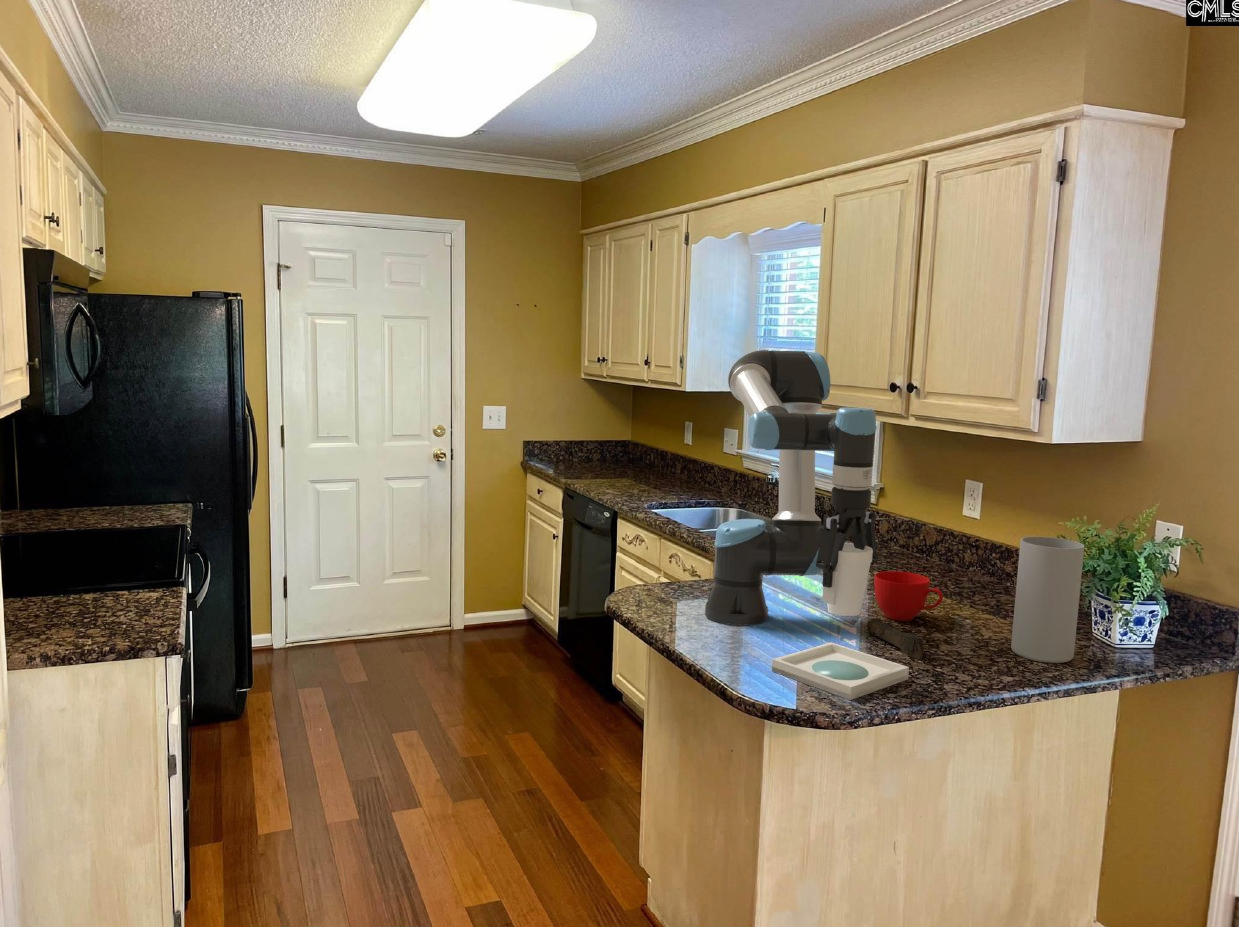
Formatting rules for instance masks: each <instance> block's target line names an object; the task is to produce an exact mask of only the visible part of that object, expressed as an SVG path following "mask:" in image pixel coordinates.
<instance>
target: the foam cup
mask: <svg viewBox="0 0 1239 927" xmlns="http://www.w3.org/2000/svg"><path fill="white" fill-rule="evenodd" d="M872 554H873V549H872V548H871V547H868V546H865V549H864V550H861V549H857V548H855V547H854V544H853V542H846V541H845V544H844V547H843V549H842V551H839V553H838V563H837V566H836V568H835V571H838V578H837V594H836V604H835V605H832V604H829V603H826V605H827V612H828V613H830V614H833V615H836V616H843V617H855V616H859V615H860V614H861V612H862V607H863V602H864V598H865V597H864V593H865V588H866V583H867V584H868V581H867V578H868V579H869V575H870V574H869V573H870V568H871V562H872ZM830 565H831V563H830Z"/></svg>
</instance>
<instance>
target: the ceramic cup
mask: <svg viewBox="0 0 1239 927" xmlns="http://www.w3.org/2000/svg"><path fill="white" fill-rule="evenodd" d="M873 580H874V583H873V584H874V595H875V601H876V604H877V605H878V607H879V608H880V610H881V612H882V613H883V614H884V616H885V617H886V618H887V619H890V620H893V621H901V622H907V621H913V620H914V618H915V617H917V616H918V615H919V613H920V612H921V611H924V610H929V609H930V610H931V609H934V608H936V607H938V606H939V605H941V604H942V601H943V599H944V594H943V592H942V591H941V590H940V589H938V588H934V587H932V588H930V583H931V581H930V580H931V579H929V577H926V576H924V575H922V574H918V573H914V572H913V573H912V572H907V571H899V570H898V571H897V570H889V571H887V570H886V571H879V572H876V573H875V574H874V579H873ZM932 592H934V593H936V594H938V600H937V602H936V603H934V604H931V605H926V603H927V599H928V595H929V594H931V593H932Z"/></svg>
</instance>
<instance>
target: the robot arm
mask: <svg viewBox="0 0 1239 927" xmlns="http://www.w3.org/2000/svg"><path fill="white" fill-rule="evenodd" d="M727 377H728V378H727V380H728V381H727V383H728V387H729V391H730V392H731V394H732V395H733V397H734V398H735V399H736V400H738V401H739V402H741V403H742V406H743V407H744V409H745V411H746V413H747V414H748V416H749V419H748V429H747V433H748V434H747V436H748V442H749V445H750V447H751V448H753V449H757V450H758V449H759V450H764V451H778V452H779V453H778V454H779V455H778V463H779V464H778V512H777V513H776V514H775V515H774V517H772V519H771V522H772V523H771V525H770V526H768V525H767V524H766V521H764V520H763V519H757V518H741V519H740V518H739V519H733V520H728V521H726V522H723V523H721V524H719V526H718V527H717V529H716V531H715V532H716V533H715V541H714V566H713V567H714V569H713V583H712V584H713V585H712V587H711V589H710V592H709V595H708V597H707V601H706V603H705V607H704V615H705V617H706V618H707V619H709V620H711V621H713V622H717V623H720V624H724V625H734V626H753V625H754V626H755V625H759V624H760V625H761V624H763V623H765V622H767V621H768V620H769V607H768V605H767V602H766V598H765V592H764V589H763V588H764V587H763V579H764V578H763V577H764V576H766V575H767V576H799V577H804V576H817V575H818V574H820V573H821V572H822V584H821V585H822V596H821V597H822V598H821V599H822V601H821V602H822V603H825V604H827V603H829V604H832V605H835V604H836V594H837V578H838V571H835V568H836V566H837V563H838V553H839V551H842V549H843V547H844V544H845V542H846V541H848V540H849V539H850V536H851V540H852V543H853V544H854V547H855V548H857V549H861V550H864V549H865V546H868V547H871V548H872V549H873V554H872V562H871V564H870V566H873V565H875V562H876V560H877V557H878V552H877V542H876V540H877V538H876V529H875V521H876V512H875V513H874V512H870V511H867V509H869V508H871V504H872V503H871V502H872V490H871V489H870V487H872V485H873V483H872V482H873V468H874V467H873V466H874V457H875V445H876V444H875V443H876V442H875V441H876V431H877V414H876V411H875V410H873V409H872V408H866V407H852V406H851V407H849V406H848V407H845V406H844V407H840V408H838V410H836V412H830V413H817V412H819V411H820V409H821V408H822V407H823V401H824V402H825V401H826V400H828V398H829V396H830V392H831V391H830V389H831V373H830V368H829V365H828V361H827V360H826V358H825V357H824V356H823V355H822V354H821V353H819V352H813V351H806V350H769V349H762V350H755V351H751V352H748V353H747V354H744V355H743V356H741V357H740V358H739V359H738V360H737V361H736V362H734V364H733V365H732V366H731V368H730V371H729V373H728V376H727ZM817 451H818V452H822V451H823V452H833V464H832V475H831V476H832V478H831V483H832V485H834V486H833V487H832V488H831V496H830V498H831V499H830V503H831V506H832V507H833V508H834V509H835V510H834V514H833V516H831V517H828V516H824V517H823V520H822V519H821V517H819V516H818V515H817V514H816V512H815V511H816V510H815V509H816V506H815V505H816V504H815V502H816V452H817ZM822 521H823V522H822ZM822 523H823V524H822ZM830 563H831V565H830ZM868 580H869V577H868V578H867V583H866V588H865V593H864V598H866V597H867V594H868Z"/></svg>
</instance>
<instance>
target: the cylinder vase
mask: <svg viewBox="0 0 1239 927" xmlns="http://www.w3.org/2000/svg"><path fill="white" fill-rule="evenodd" d="M1019 541H1020V542H1019V543H1020V544H1019V553H1018V565H1017V573H1016V574H1017V577H1016V587H1015V588H1016V589H1015V596H1014V609H1013V621H1012V622H1013V623H1012V631H1011V632H1012V633H1011V643H1010V648H1011V650H1012V652H1014V654H1016V655H1018V656H1019V657H1021V658H1025V659H1027V660H1030V661H1036V662H1041V663H1048V664H1064V663H1067V662H1070V661H1072V660H1073V659H1074V657H1075V647H1076V646H1075V645H1076V635H1077V625H1078V618H1079V617H1078V616H1079V615H1078V614H1079V605H1080V596H1081V587H1082V586H1081V585H1082V576H1083V575H1082V574H1083V566H1084V565H1083V564H1084V554H1085V544H1083V543H1081V542H1078V541H1075V540H1071V539H1065V538H1058V537H1053V536H1052V537H1051V536H1024V537H1021V538H1020V540H1019Z"/></svg>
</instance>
